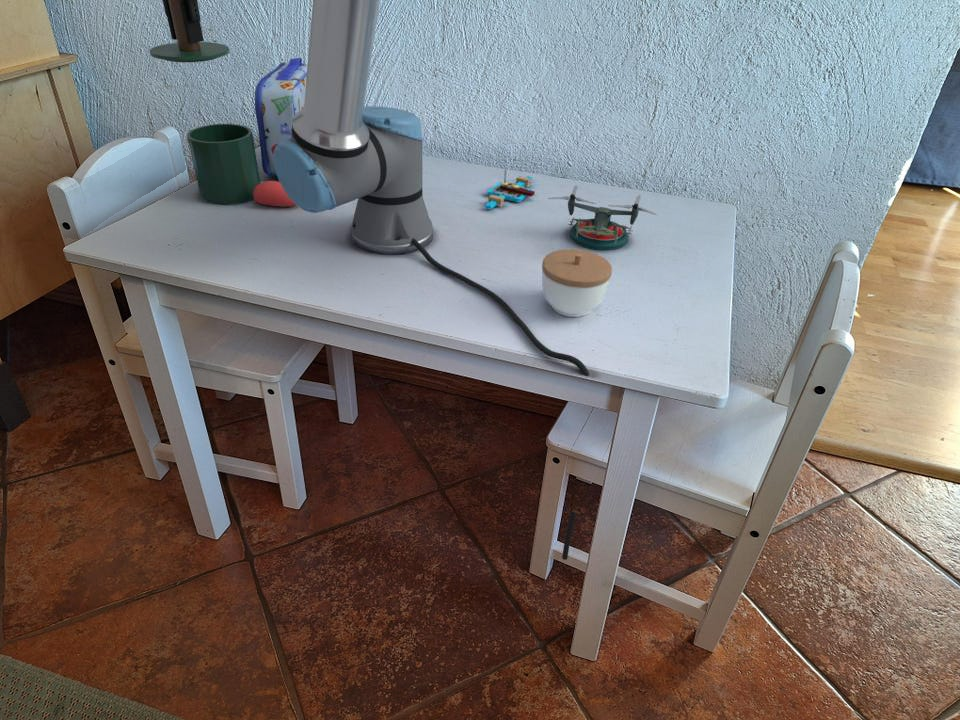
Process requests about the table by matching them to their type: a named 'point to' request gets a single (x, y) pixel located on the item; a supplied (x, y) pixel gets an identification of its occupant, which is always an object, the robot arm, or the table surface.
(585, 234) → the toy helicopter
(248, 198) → the canister
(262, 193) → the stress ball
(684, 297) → the table surface
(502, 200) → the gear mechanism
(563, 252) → the trinket box
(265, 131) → the lunch box
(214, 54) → the canister lid
